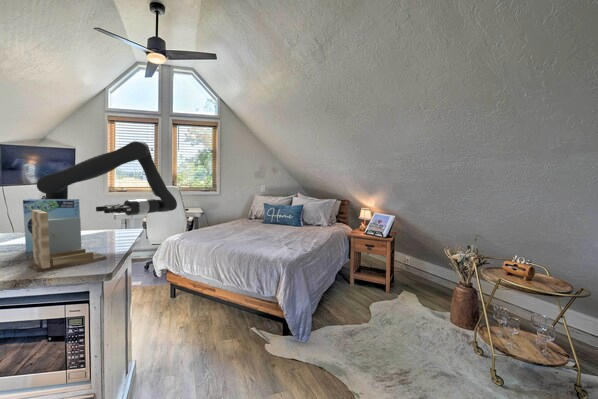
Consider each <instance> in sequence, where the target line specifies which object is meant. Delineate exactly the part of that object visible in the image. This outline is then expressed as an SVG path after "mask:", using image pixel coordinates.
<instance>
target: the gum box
mask: <svg viewBox="0 0 598 399" xmlns="http://www.w3.org/2000/svg"><path fill="white" fill-rule="evenodd" d="M22 206H23V208H22V209H23V222H24V223H23V224H24V226H23V227H24V240H25V252H26V253H30V252H31V253H33V238H32V215H31V210H41V211H44V212H47V213H48V219H56V218H68V217H79V218H80V219H81V214H80V213H81V212H80V210H81V209H80V199H79V198H78V199H74V198H73V199H69V198H68V199H45V198H27V199H23V200H22Z"/></svg>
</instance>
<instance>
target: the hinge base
mask: <svg viewBox="0 0 598 399" xmlns="http://www.w3.org/2000/svg"><path fill="white" fill-rule="evenodd" d="M31 215H32V238H33V252H32V253H33V254H32V256H33V257H32V258H33V262H29V263H28V266H29V267H30V268H32V269H33V270H35V271H36V272H37V273H41V272H42V273H43V272H48V271H52V270H57V269H61V268H68V267H72V266H76V265H83V264H88V263H93V262H97V261H104V260H108V259H107V258H108V257H107V256H106V255H104V254H103V253H99V252H96V251H88V252H87V251H86V248H81V249H78V250H72V251H65V252H59V253H53V254H50V252H49V228H48V213H47V212H44V211H41V210H31Z"/></svg>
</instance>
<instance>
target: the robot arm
mask: <svg viewBox="0 0 598 399" xmlns="http://www.w3.org/2000/svg"><path fill="white" fill-rule="evenodd" d="M134 161H137V162H138V163H139V164H140V166H141V168H142V169H143V172H144V175H145V178H146V181H147V183H148V185H149V188H150V189H151V191H152V194H153V195H154V196H155V197H157V198H159V199H155V198H149V199H147V198H146V199H142V198H141V199H126V200H125V201H124V202H123V204H122V203H116V204H104V205H103V206H101V205H100V206H96V207H95V212H103V213H104V214H124V213H125V215H126V216H129V217H130V216H136V215H145V214H152V213H165V212H170V211H171V212H172V211H174V210H176V209H177V207H178V202H177V199H176V198H175V196H174V194H172V193H171V191H170V190H168V188H167V185H166V183H165V182H164V180H163V178H162V176H161V174H160V172H159V171H158V169H157V167H156V165H155V162H154V159H153V157H152V153H151V151H150V147H149V145H148V144H147V143H146V142H145V141H142V140H133V141H130V142H129V143H127V144H125V145H124V146H122V147H120V148H118V149H115V150H112V151H110V152H105V153H101V154H98V155H95V156H92V157H91V158H87V159H86V160H83V161H81V162H79V163H77V164H74V165H72V166H70V167H67V168H65V169H63V170H59V171H56V172H53V173H49V174H46V175H43V176H41V177H40V178H39V179H38V180H37V182H36V189H37V190H38V191H39V192H40V193H43V194H45V197H44V199H69V198H68V197H69V191H68V190H69V188H68V187H69V186H71V185H74V184H76V183H80V182H83V181H87V180H89V181H90V180H91V179H94V178H98V177H100V176H103V175H105V174H108V173H110V172H112V171H114V170H115V169H117V168H119V167H121V166H122V165H124V164H128V163H132V162H134Z"/></svg>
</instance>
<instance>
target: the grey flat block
mask: <svg viewBox="0 0 598 399" xmlns="http://www.w3.org/2000/svg"><path fill="white" fill-rule="evenodd" d="M81 223H82V222H81V217H80V218H79V217H68V218H56V219H48V228H49V252H50V254H53V253H59V252H65V251H72V250H78V249H82V229H81V226H82V225H81Z"/></svg>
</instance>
